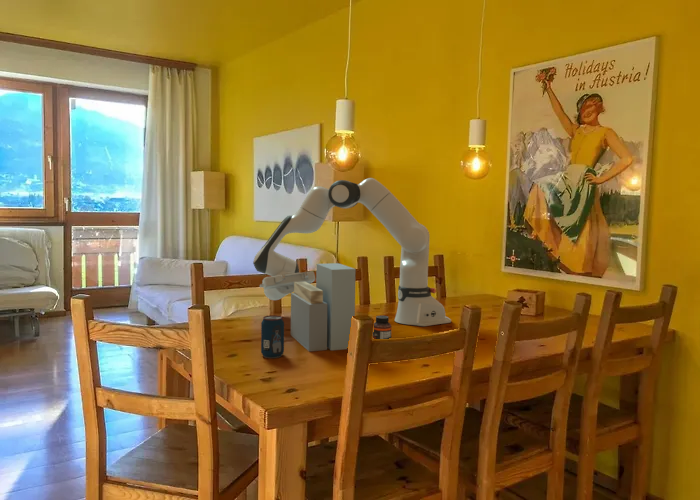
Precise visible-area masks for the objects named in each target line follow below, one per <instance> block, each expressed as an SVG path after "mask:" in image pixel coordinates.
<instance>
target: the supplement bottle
mask: <svg viewBox="0 0 700 500" xmlns="http://www.w3.org/2000/svg"><path fill="white" fill-rule="evenodd" d="M373 324H374V332H373V331H372V339H373V338H374V339H389V338H391V339H392V324H391V323H390V322H389V316H387V315H376V316H375V322H374V323H373Z"/></svg>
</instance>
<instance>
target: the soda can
mask: <svg viewBox="0 0 700 500" xmlns="http://www.w3.org/2000/svg"><path fill="white" fill-rule="evenodd" d="M260 326H261V327H260V328H261V329H260V331H261V332H260V334H261V335H260V337H261V338H260V343H261V344H260V352H261V355H262V356H263V357H264V358H266V359H279V358H281V357H282V356H283V354H284V352H285V322H284V320H283V316H281V315H276V314H275V315H266V316H265V315H264V316H263V317H262V320H261V324H260Z"/></svg>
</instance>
